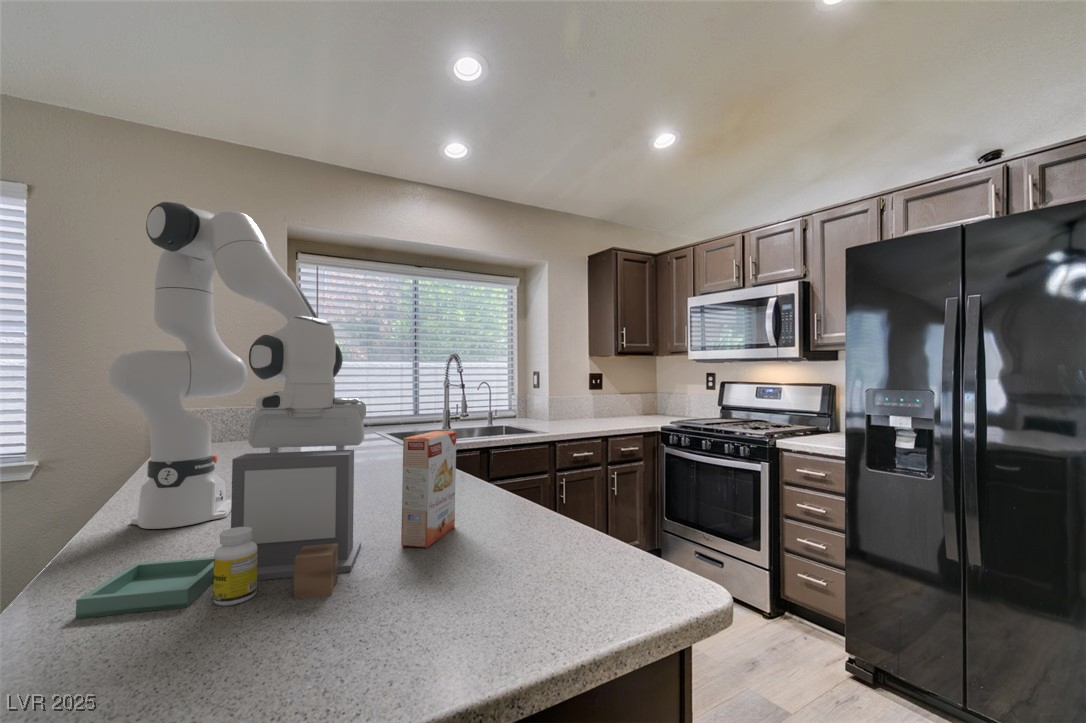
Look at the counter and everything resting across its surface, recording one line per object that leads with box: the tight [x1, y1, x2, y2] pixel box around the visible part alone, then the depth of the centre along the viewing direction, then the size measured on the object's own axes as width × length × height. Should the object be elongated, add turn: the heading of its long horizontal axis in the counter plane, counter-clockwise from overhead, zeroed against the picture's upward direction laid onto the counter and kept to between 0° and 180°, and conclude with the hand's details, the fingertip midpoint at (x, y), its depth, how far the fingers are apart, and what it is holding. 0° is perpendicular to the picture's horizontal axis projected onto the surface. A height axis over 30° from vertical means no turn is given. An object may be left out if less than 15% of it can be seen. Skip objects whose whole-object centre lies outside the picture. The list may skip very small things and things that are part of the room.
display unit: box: [230, 449, 362, 581], centre depth 82 cm, size 12×20×19 cm, turn 104°
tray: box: [75, 556, 214, 620], centre depth 71 cm, size 13×13×2 cm
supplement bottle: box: [212, 527, 258, 607], centre depth 69 cm, size 5×5×10 cm
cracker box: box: [400, 430, 457, 549], centre depth 96 cm, size 14×6×21 cm, turn 168°
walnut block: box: [293, 543, 338, 600], centre depth 71 cm, size 5×5×6 cm
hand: (308, 469), depth 91 cm, fingers open, 8 cm apart
